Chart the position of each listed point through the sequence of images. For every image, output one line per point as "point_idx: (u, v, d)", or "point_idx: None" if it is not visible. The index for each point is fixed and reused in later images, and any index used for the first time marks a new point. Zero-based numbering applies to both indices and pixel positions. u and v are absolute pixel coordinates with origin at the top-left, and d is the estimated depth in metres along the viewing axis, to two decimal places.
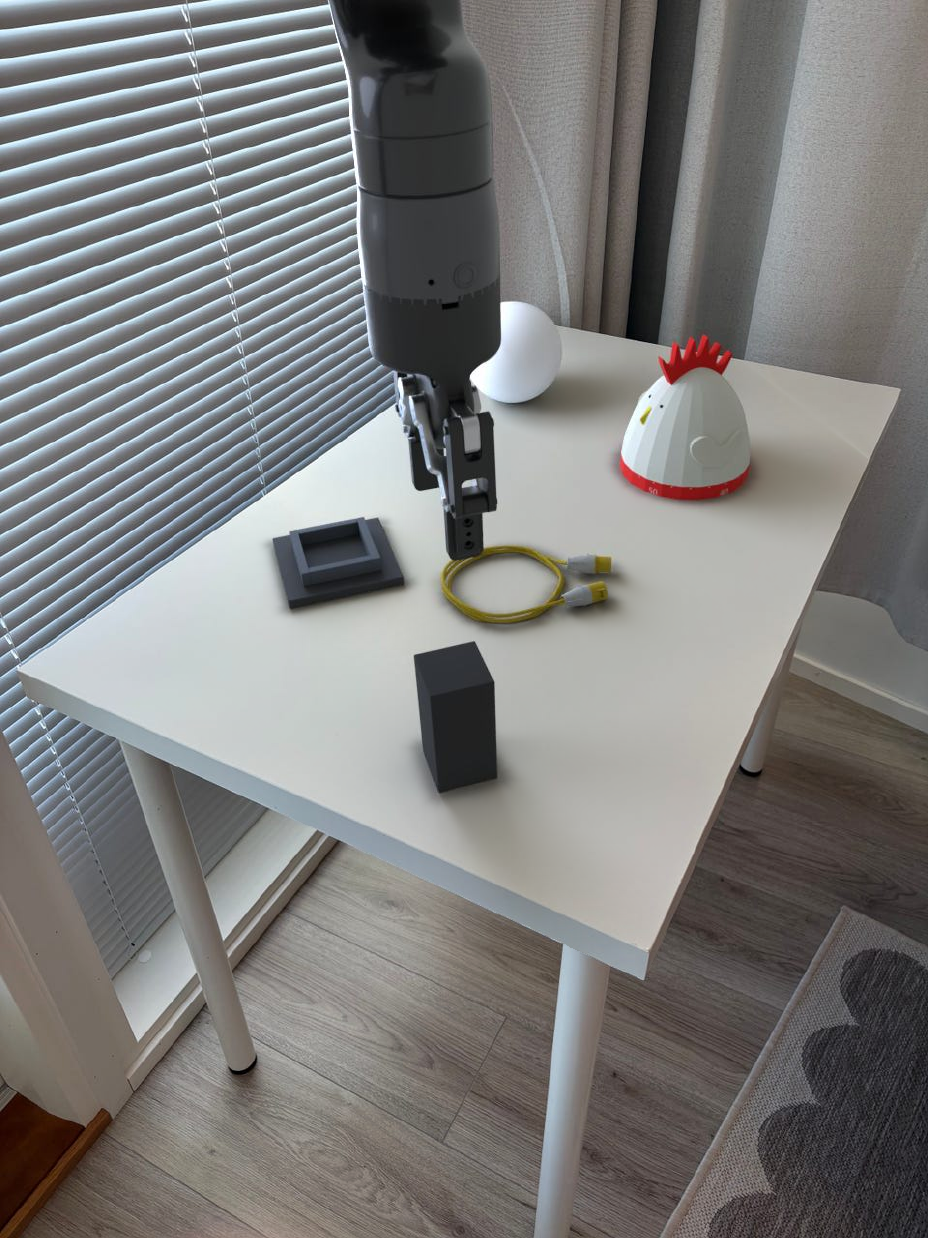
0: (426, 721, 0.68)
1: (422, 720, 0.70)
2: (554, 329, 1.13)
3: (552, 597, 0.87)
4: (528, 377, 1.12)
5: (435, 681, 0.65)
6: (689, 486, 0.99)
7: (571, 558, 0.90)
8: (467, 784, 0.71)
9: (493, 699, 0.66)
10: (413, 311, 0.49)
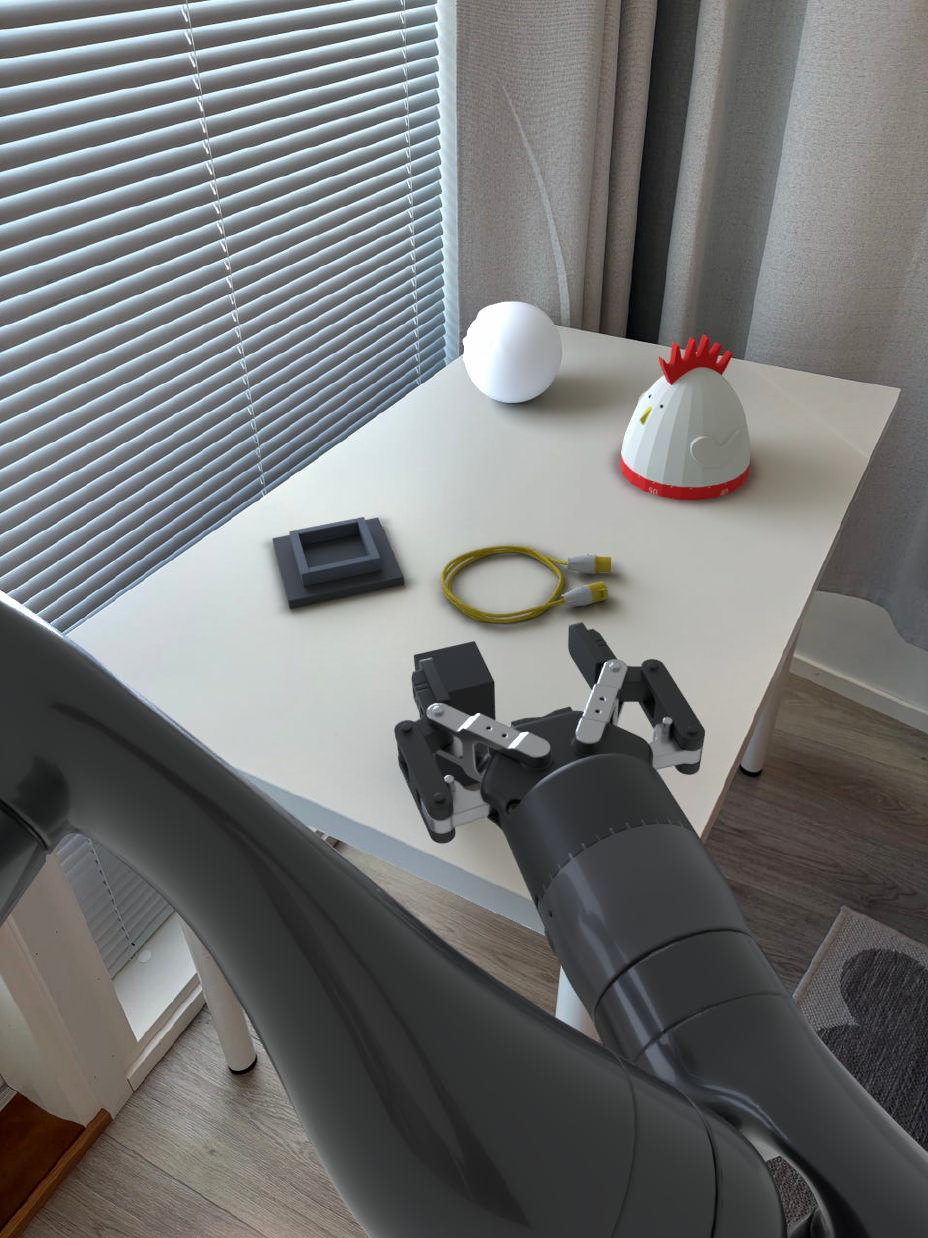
0: None
1: None
2: (554, 329, 1.13)
3: (552, 597, 0.87)
4: (528, 377, 1.12)
5: None
6: (689, 486, 0.99)
7: (571, 558, 0.90)
8: (467, 784, 0.71)
9: (493, 699, 0.66)
10: (546, 867, 0.38)
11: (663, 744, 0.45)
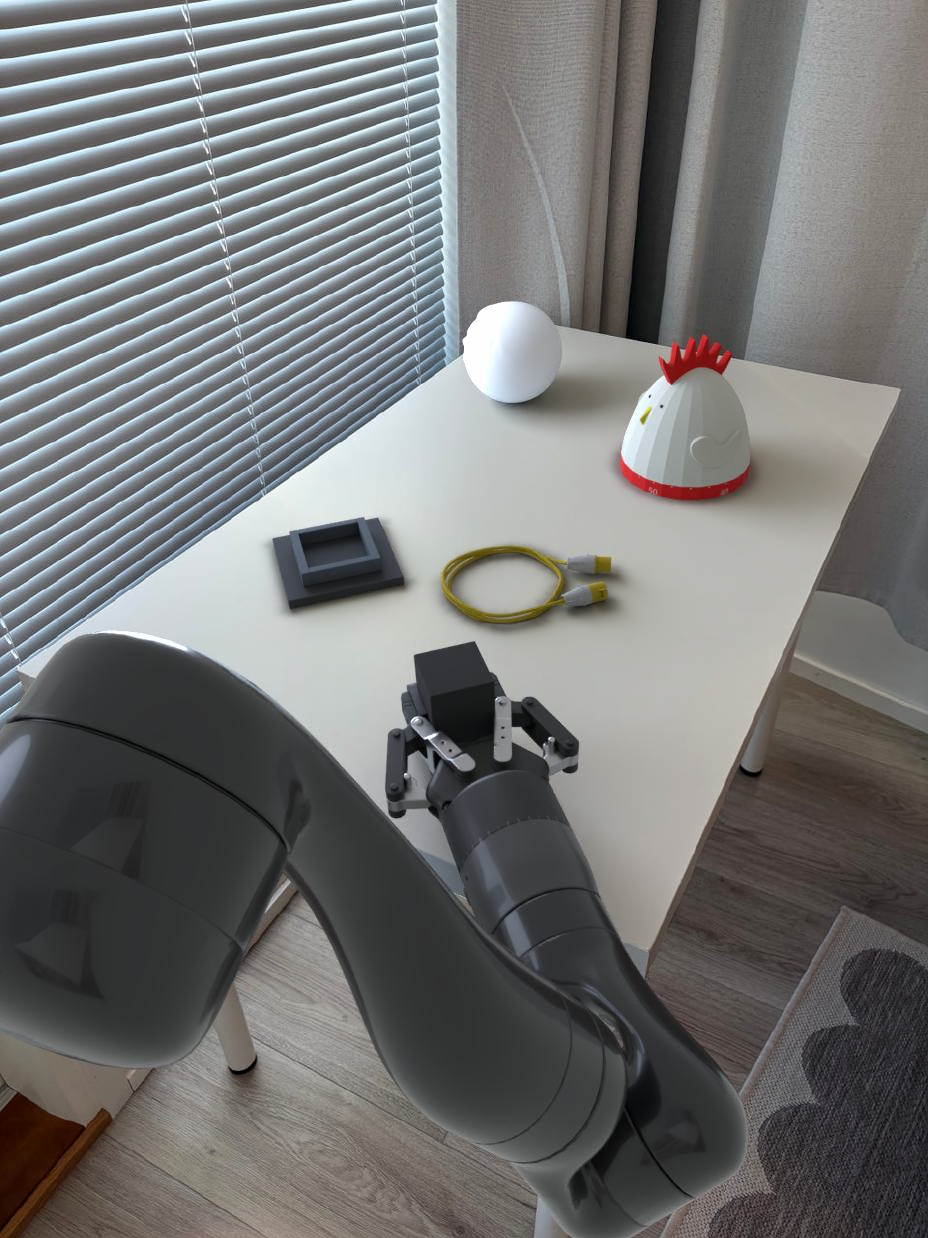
0: None
1: None
2: (554, 329, 1.13)
3: (552, 597, 0.87)
4: (528, 377, 1.12)
5: (435, 681, 0.65)
6: (689, 486, 0.99)
7: (571, 558, 0.90)
8: None
9: (493, 699, 0.66)
10: (464, 847, 0.57)
11: (552, 756, 0.64)
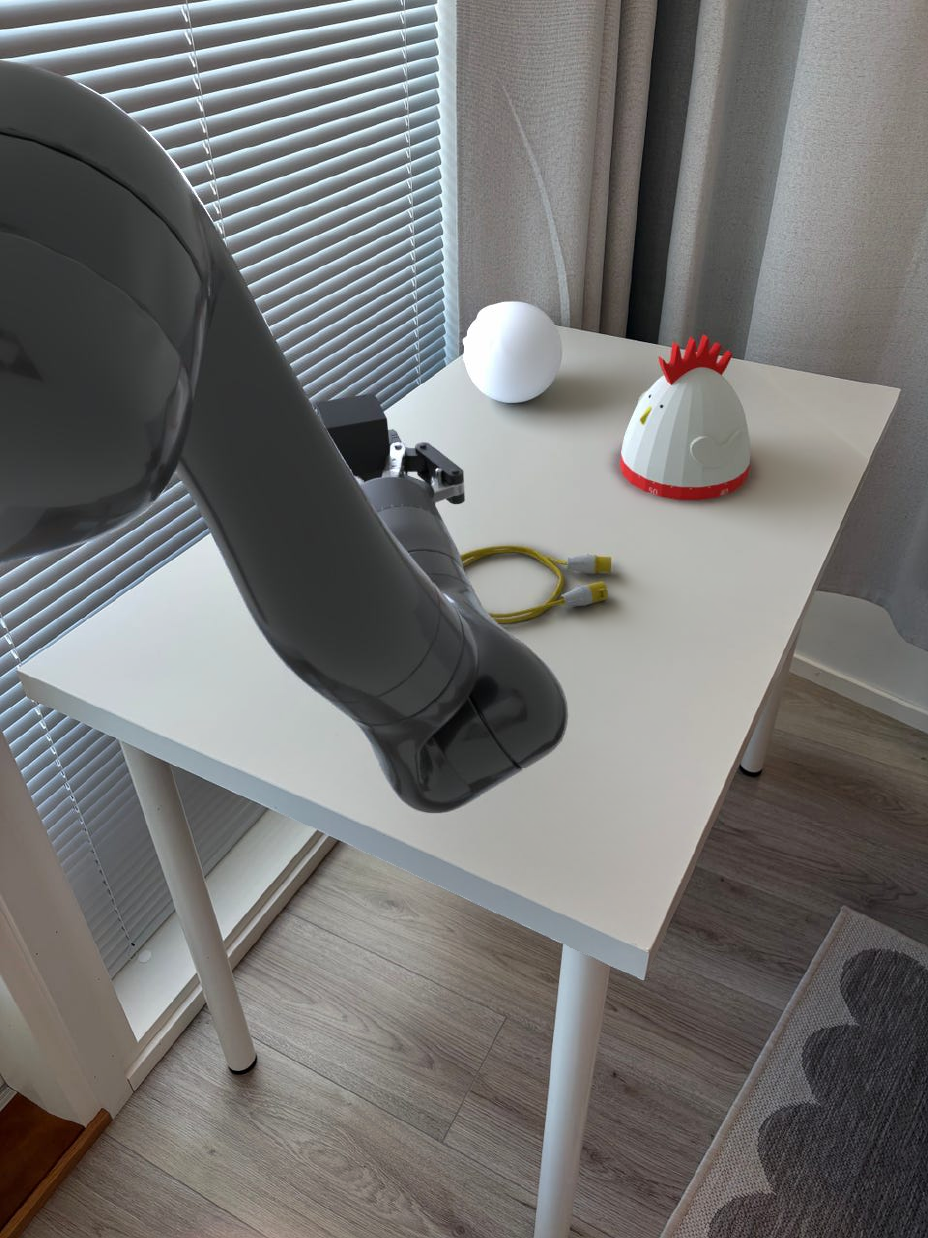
0: None
1: None
2: (554, 329, 1.13)
3: (552, 597, 0.87)
4: (528, 377, 1.12)
5: (332, 418, 0.70)
6: (689, 486, 0.99)
7: (571, 558, 0.90)
8: None
9: (387, 438, 0.71)
10: None
11: (438, 484, 0.69)
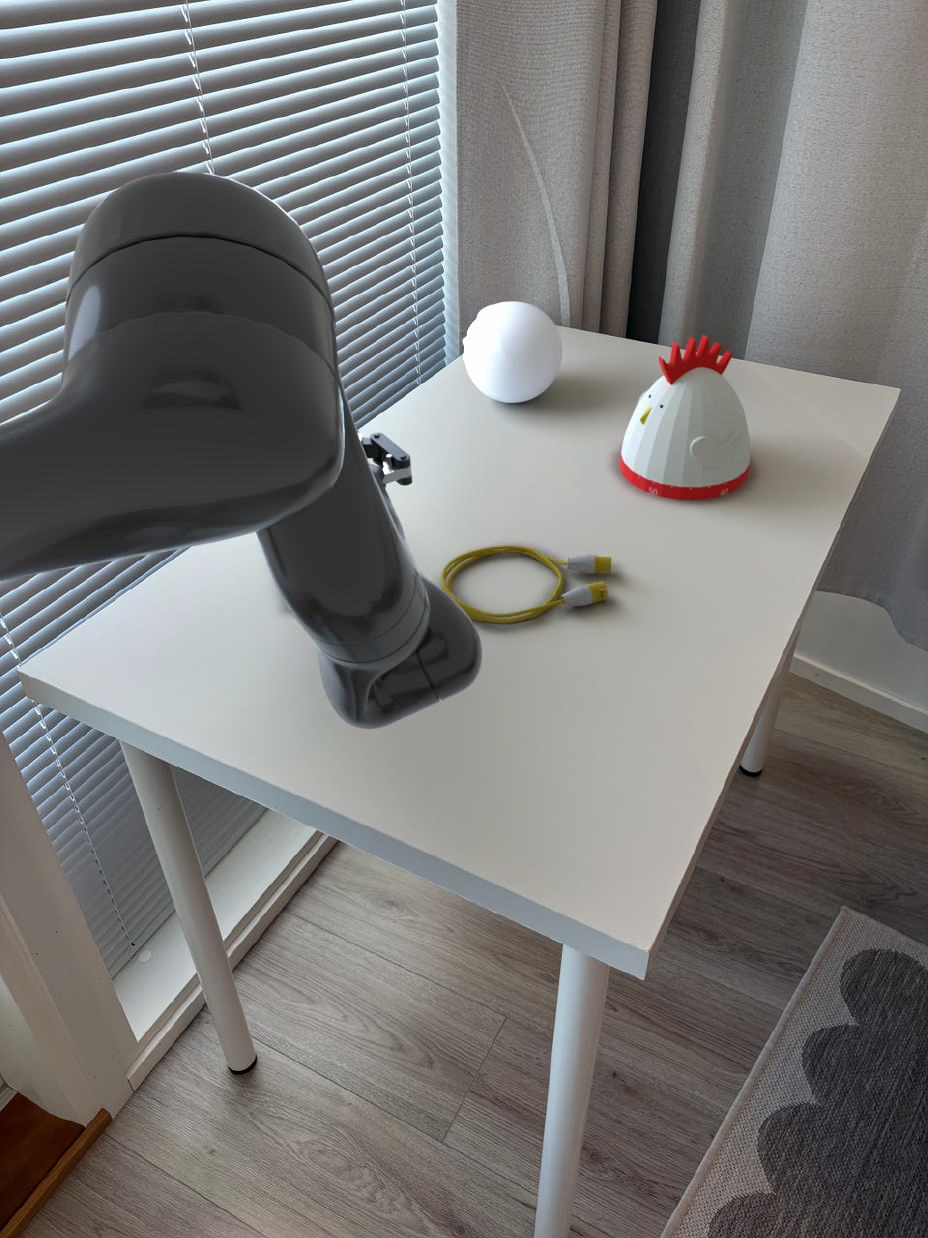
0: None
1: None
2: (554, 329, 1.13)
3: (552, 597, 0.87)
4: (528, 377, 1.12)
5: None
6: (689, 486, 0.99)
7: (571, 558, 0.90)
8: None
9: None
10: None
11: (389, 468, 0.81)
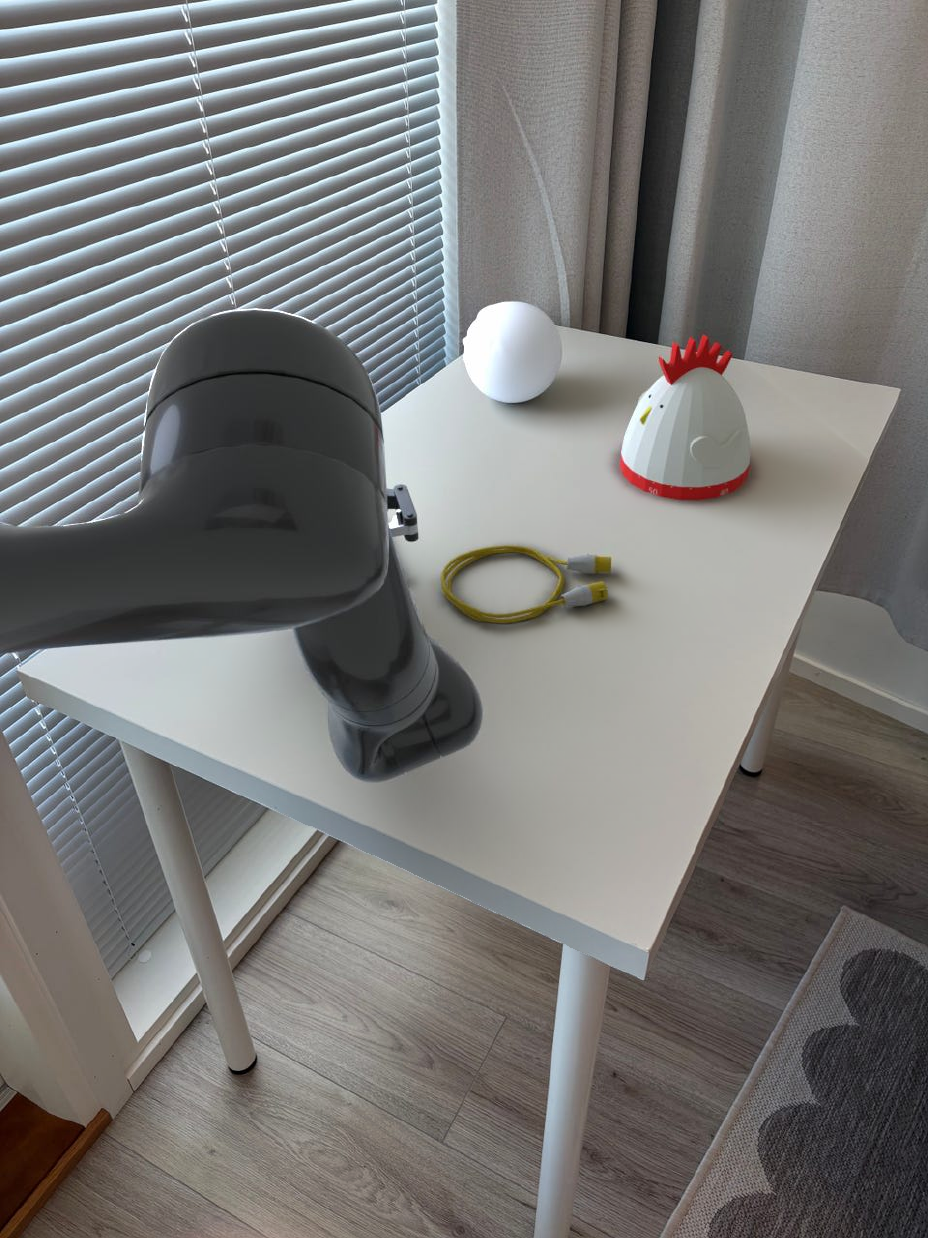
0: None
1: None
2: (554, 329, 1.13)
3: (552, 597, 0.87)
4: (528, 377, 1.12)
5: None
6: (689, 486, 0.99)
7: (571, 558, 0.90)
8: None
9: None
10: None
11: (395, 523, 0.83)
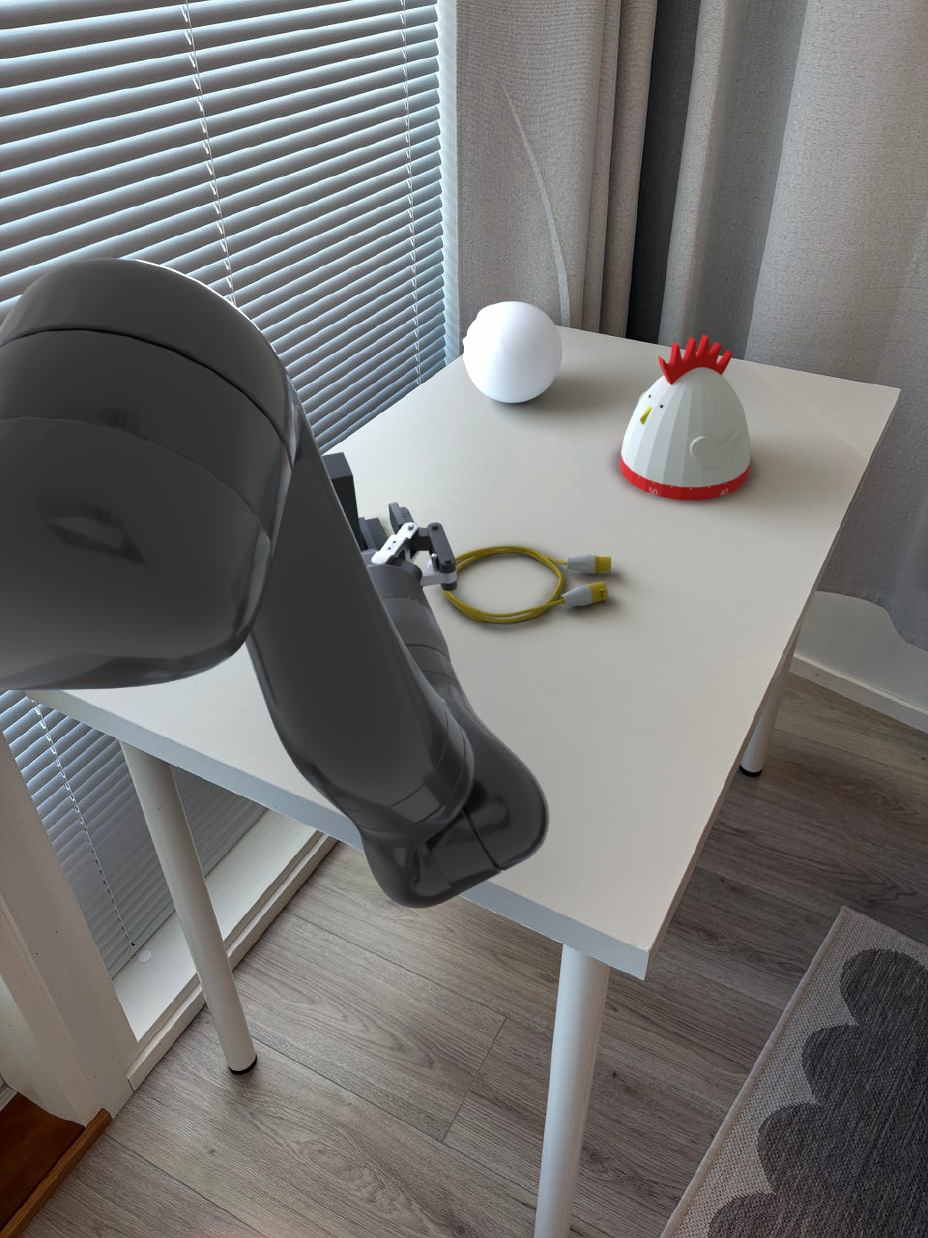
0: None
1: None
2: (554, 329, 1.13)
3: (552, 597, 0.87)
4: (528, 377, 1.12)
5: None
6: (689, 486, 0.99)
7: (571, 558, 0.90)
8: None
9: (353, 491, 0.86)
10: None
11: (430, 570, 0.71)
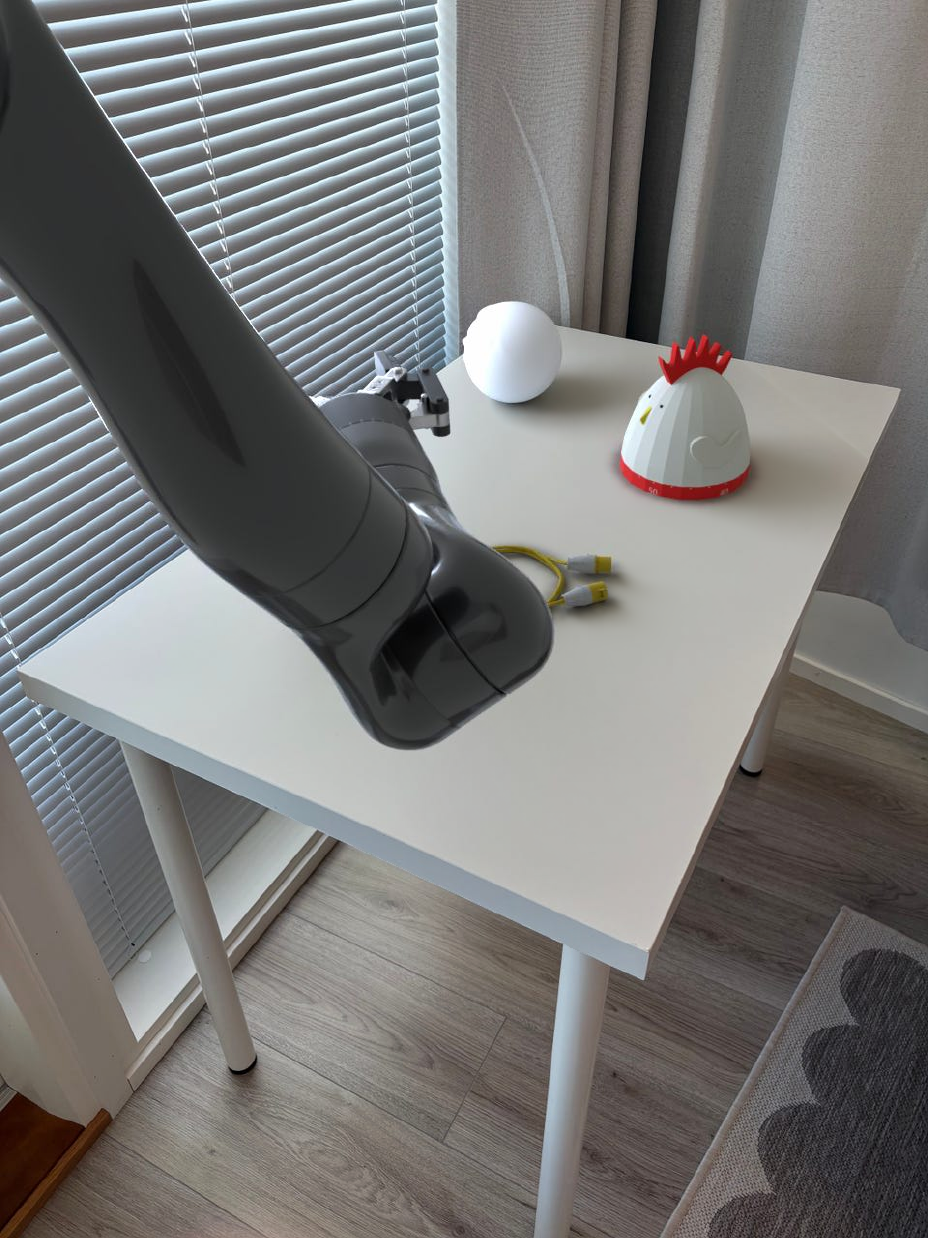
0: None
1: None
2: (554, 329, 1.13)
3: (552, 597, 0.87)
4: (528, 377, 1.12)
5: None
6: (689, 486, 0.99)
7: (571, 558, 0.90)
8: None
9: None
10: None
11: (420, 411, 0.63)
